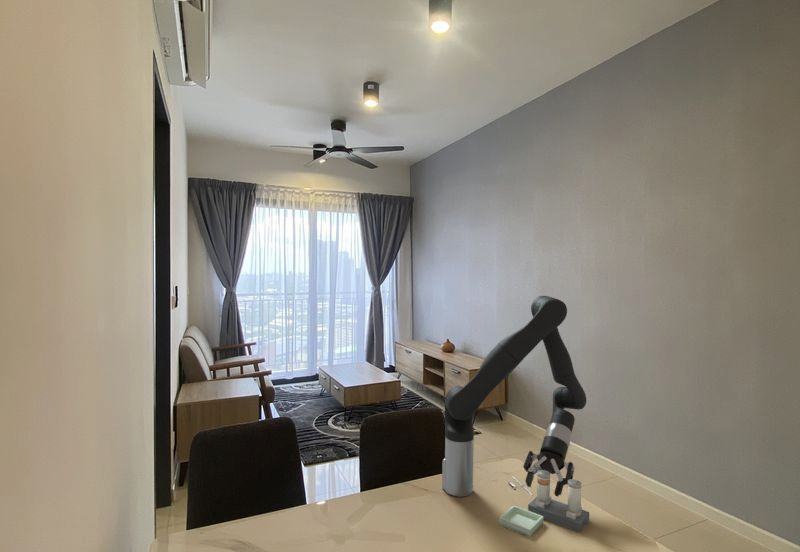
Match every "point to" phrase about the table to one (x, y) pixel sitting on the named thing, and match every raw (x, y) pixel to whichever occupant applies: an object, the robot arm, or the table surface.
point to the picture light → (520, 484)
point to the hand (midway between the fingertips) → (541, 490)
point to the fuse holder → (559, 514)
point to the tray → (521, 521)
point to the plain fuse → (574, 497)
